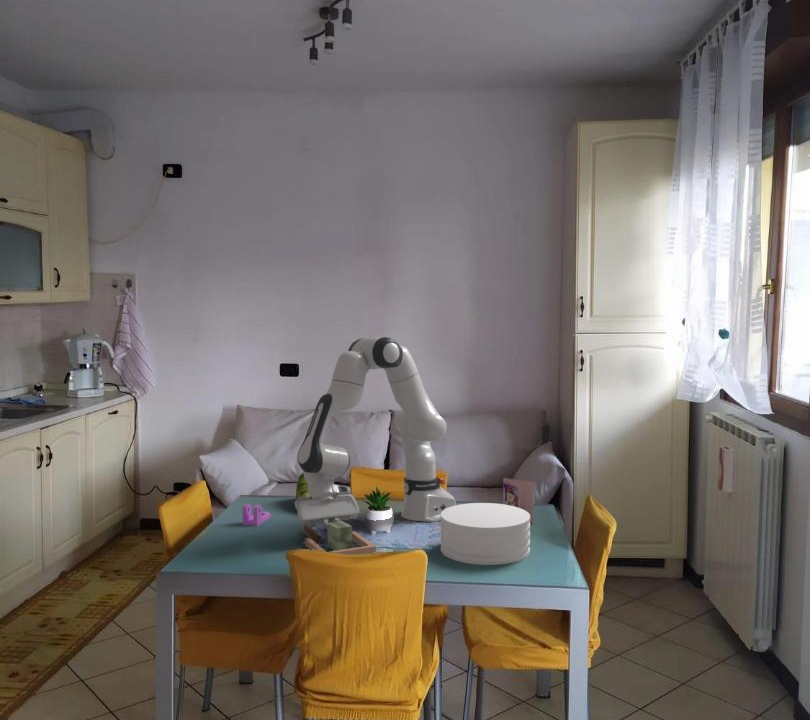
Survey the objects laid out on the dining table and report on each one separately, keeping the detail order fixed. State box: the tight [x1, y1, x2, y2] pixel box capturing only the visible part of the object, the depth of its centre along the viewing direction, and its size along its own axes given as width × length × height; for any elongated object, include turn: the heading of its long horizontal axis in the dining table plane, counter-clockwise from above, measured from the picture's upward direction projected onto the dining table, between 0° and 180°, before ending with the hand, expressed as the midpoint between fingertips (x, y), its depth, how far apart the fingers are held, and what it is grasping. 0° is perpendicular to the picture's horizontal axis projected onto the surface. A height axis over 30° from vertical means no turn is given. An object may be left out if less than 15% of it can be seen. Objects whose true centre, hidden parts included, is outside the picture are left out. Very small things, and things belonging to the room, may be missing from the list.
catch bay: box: [304, 530, 377, 554], centre depth 250 cm, size 17×18×2 cm
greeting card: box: [502, 477, 534, 525], centre depth 278 cm, size 11×7×15 cm, turn 23°
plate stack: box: [440, 502, 531, 566], centre depth 249 cm, size 28×28×12 cm
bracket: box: [242, 503, 272, 527], centre depth 283 cm, size 13×6×7 cm, turn 165°
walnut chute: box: [302, 522, 331, 545], centre depth 264 cm, size 9×14×2 cm, turn 26°
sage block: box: [327, 520, 353, 551], centre depth 250 cm, size 5×7×8 cm
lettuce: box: [295, 472, 335, 500], centre depth 302 cm, size 14×23×13 cm, turn 177°
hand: (334, 532), depth 254 cm, fingers closed
